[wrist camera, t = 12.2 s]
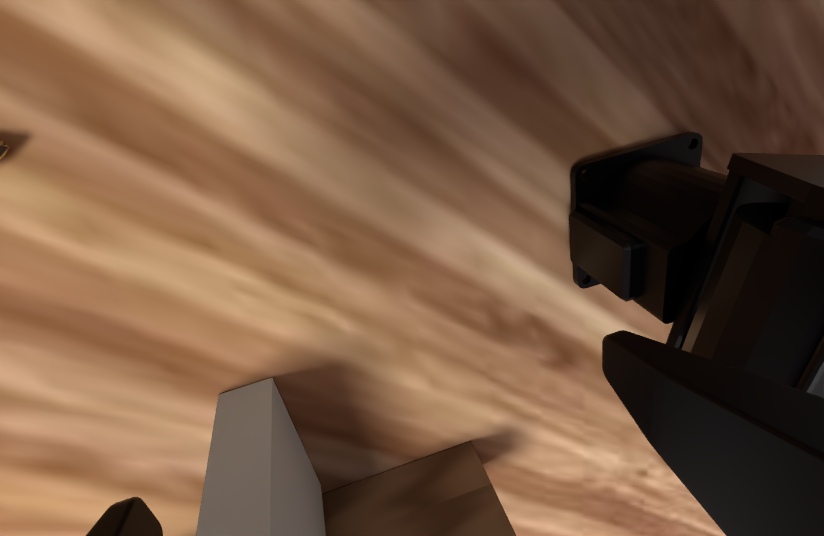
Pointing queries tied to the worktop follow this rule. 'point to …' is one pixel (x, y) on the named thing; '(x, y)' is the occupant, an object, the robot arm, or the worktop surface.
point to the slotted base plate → (420, 500)
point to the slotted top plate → (258, 470)
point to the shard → (3, 149)
